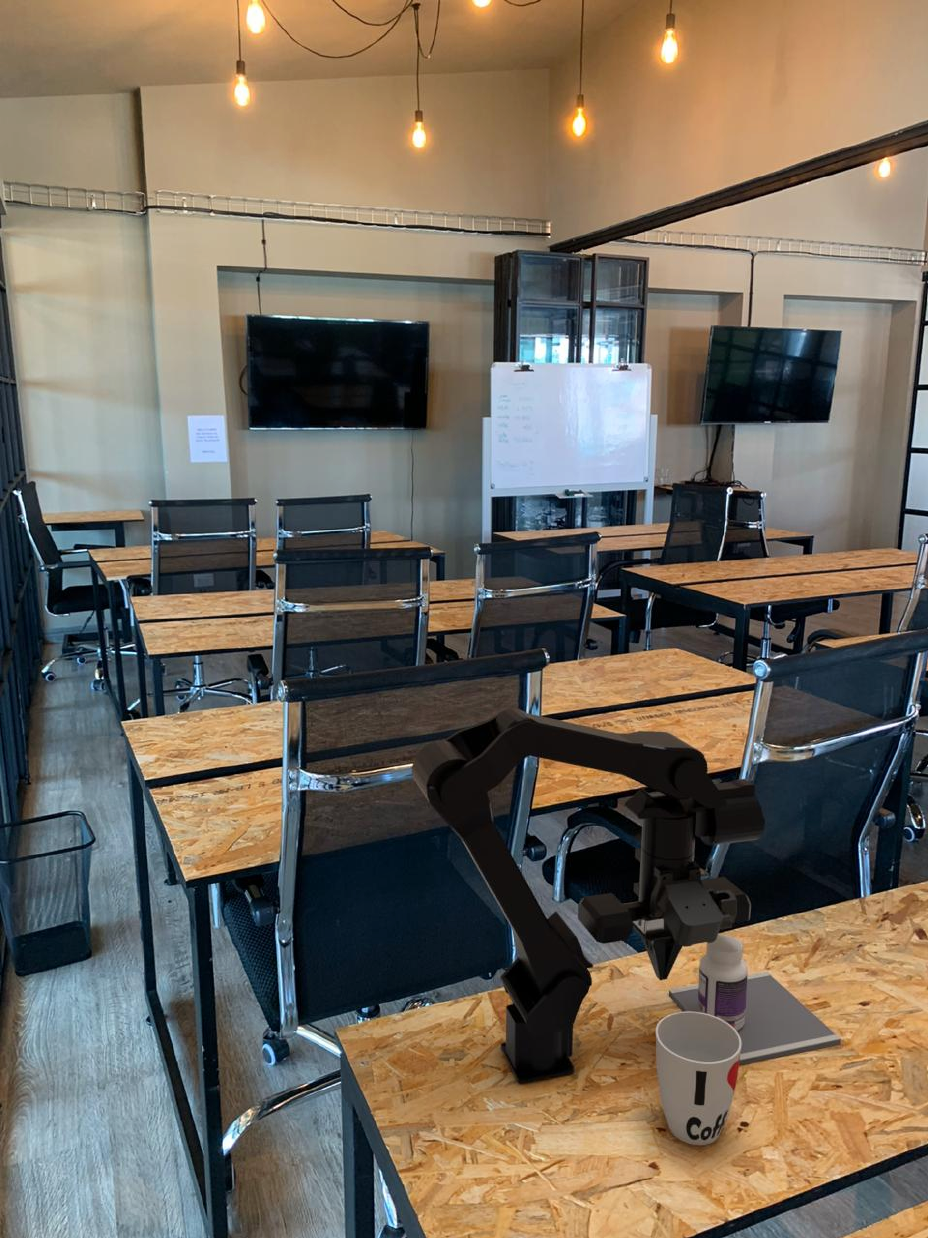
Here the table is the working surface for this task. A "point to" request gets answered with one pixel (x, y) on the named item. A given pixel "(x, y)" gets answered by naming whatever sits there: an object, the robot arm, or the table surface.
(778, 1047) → the mat
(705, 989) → the pill bottle
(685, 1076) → the cup
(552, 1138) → the table surface
